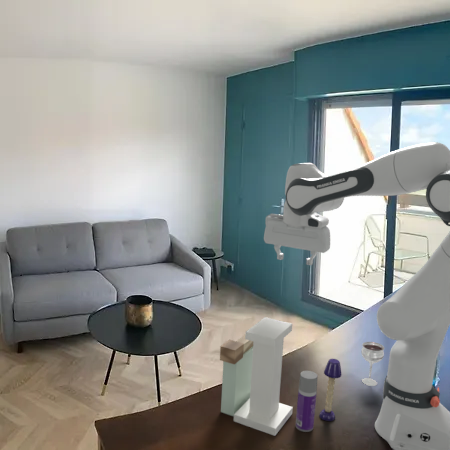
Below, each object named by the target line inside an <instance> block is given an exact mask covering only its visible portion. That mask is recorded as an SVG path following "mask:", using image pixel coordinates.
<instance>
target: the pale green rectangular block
mask: <svg viewBox="0 0 450 450" xmlns="http://www.w3.org/2000/svg"><path fill="white" fill-rule="evenodd" d="M252 357H253V346H252V347H251V348H250V349H249V350H248V351H246V352H245V353H244V354H243V358H242V359H240V360H239V361H238V362H237V363H236V364H235V365H234V364H231V363H228V362H224V361H222V363H223V364H222V379H221V380H222V383H221V384H222V385H221V399H220V400H221V403H220V413H223V414H225V415H228V416H231V417H234V414H235V413H236V412H237V411H238V410H239V409H240V408H241V407H242V406H243V405H244V404H245V403H246V402H247V401H248V400H249V399H250V389H251V373H252Z"/></svg>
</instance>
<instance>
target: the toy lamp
mask: <svg viewBox="0 0 450 450" xmlns="http://www.w3.org/2000/svg"><path fill="white" fill-rule="evenodd" d="M323 374H324V376H325V377H328V381H327V390H326V397H325V406H324V409H322V410H320V412H319V414H318V415H319V418H320V419H321V420H323V421H326V422H332V421H334V420H336V415H335V412H334V411H333V410H332V409H333V408H332V405H333V400H334V398H333V397H334V390H335V382H336V381H335V380H336V379H340V378H341V377H342V367H341V362H340V360H338V359H336V358H330V359H328V361H327V363H326V365H325V368H324V370H323Z"/></svg>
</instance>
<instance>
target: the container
mask: <svg viewBox="0 0 450 450" xmlns="http://www.w3.org/2000/svg"><path fill="white" fill-rule="evenodd" d="M318 375H319V374H317V373H316V372H314V371H311V370H302V371H301V372H300V375H299V381H298V393H297V402H296V403H297V405H296V415H295V416H296V417H295V428H296V429H297V430H298V431H300V432H303V433H304V432H305V433H306V432H307V433H308V432H312V431H313V429H314V426H315V415H316V414H315V413H316V402H317V393H318V392H317V389H318Z"/></svg>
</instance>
